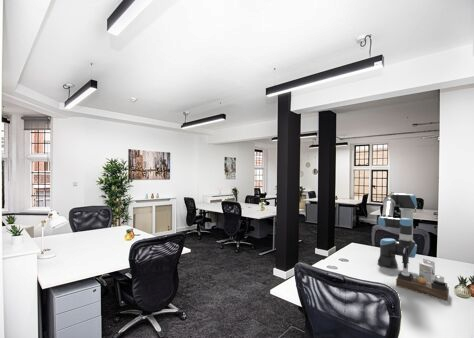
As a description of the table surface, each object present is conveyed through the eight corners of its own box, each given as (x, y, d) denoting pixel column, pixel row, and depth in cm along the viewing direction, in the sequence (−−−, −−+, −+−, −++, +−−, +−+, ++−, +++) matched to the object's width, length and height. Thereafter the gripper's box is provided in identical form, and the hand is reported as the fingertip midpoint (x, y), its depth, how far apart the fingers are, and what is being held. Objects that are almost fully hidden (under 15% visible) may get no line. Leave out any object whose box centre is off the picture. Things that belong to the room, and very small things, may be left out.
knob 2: (434, 280, 167) (435, 274, 167) (444, 282, 163) (444, 276, 163) (434, 282, 163) (434, 276, 163) (443, 285, 160) (443, 279, 160)
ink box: (418, 277, 190) (418, 258, 191) (422, 276, 192) (422, 258, 193) (431, 282, 182) (431, 262, 183) (435, 281, 184) (435, 261, 185)
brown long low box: (399, 280, 184) (400, 270, 184) (448, 294, 164) (448, 282, 164) (396, 285, 175) (396, 274, 175) (447, 300, 156) (447, 288, 156)
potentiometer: (418, 280, 173) (418, 276, 173) (426, 282, 170) (426, 278, 170) (417, 282, 170) (417, 277, 170) (425, 284, 167) (425, 279, 167)
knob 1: (402, 275, 180) (402, 270, 180) (410, 278, 176) (410, 272, 176) (400, 277, 176) (400, 272, 176) (408, 280, 173) (408, 274, 173)
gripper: (410, 242, 170) (410, 276, 169) (413, 239, 179) (413, 271, 178) (397, 240, 175) (397, 273, 174) (401, 237, 184) (401, 268, 184)
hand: (405, 272), depth 176 cm, fingers closed
